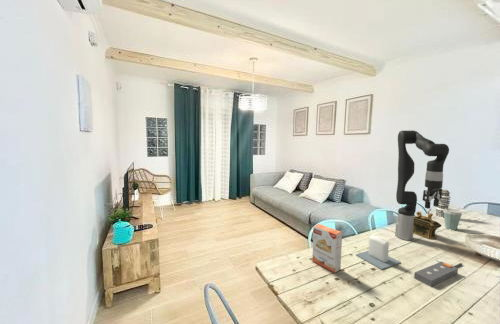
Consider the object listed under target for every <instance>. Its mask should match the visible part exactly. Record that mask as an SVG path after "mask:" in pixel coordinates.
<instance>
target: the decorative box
mask: <svg viewBox="0 0 500 324" xmlns="http://www.w3.org/2000/svg"><path fill="white" fill-rule="evenodd" d="M431 211H432V208H430V209H428V210H427V216H425V215H422V214H423V213H422V212H421V211H417V212H416V215H415V214H414V228H413V234H414V233H415V234H414V235H418V236H419V237H422V236H423V238H425V239H428V240H433V239H437V238H438V237H437V234H436V230H437V229H440V228H441V227H442V224H441V223H439V222H438V221H437V220H432V217H433V215H434V214H433V213H430V212H431Z"/></svg>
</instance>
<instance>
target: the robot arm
mask: <svg viewBox="0 0 500 324" xmlns="http://www.w3.org/2000/svg"><path fill="white" fill-rule="evenodd" d="M413 144H414V145H415V146H416V148H417V149H419V150H420V151H422V152H423V153H424V155H425V156H427V157H435V159H431V160H428V161H427V162H426V171H425V176H424V177H425V179H424V187H425V188H427V189H424V190H423V192H422V201H424V208H425V209H428V210H430V209H431V204H432V203H431V202H432V200H433V207H436V208H437V207H438V206H439V200H440V199H442V190H443V183H444V182H443V181H444V164H445V162H446V160H447V157H448V155H449V152H450V147H449V146H448V145H447V144H446V143H436V142H434V141H433V140H431V139H428V138H426V137H425V136H423V135H422V134H420V133H419V132H418V131H417V130H400V131H399V132H398V134H397V148H398V150H397V151H398V163H397V186H396V187H397V188H396V194H395V195H396V202H397V204H399V205H405V206H403V207H400V208H398V210H397V211H398V212H397V222H396V223H395V235H394V236H395V237H397V238H398V239H401V240H403V241H412V240H413V239H414V233H413V228H414V217H415V216H414V215H415V214H416V210H417V202H418V195H417V193H416V192H414V191H408V190H407V191H406V186H407V183H408V182H409V181H410V180H411V178H413V175H414V173H415V162H414V160H413V157H411V155H410V154H409V152H408V150H407V146H406V145H413Z"/></svg>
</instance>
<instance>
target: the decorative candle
mask: <svg viewBox="0 0 500 324" xmlns="http://www.w3.org/2000/svg"><path fill="white" fill-rule="evenodd" d="M450 193H451V192H450V191H449V190H448V189H442V199H440V200H439V206H438V207H436V208H435V217H436V216H438V217H443V218H444V212H443V210H444V209H446V208H447V209H449V207H450V204H451V203H450V202H451V201H450V200H451V196H450V195H451V194H450Z"/></svg>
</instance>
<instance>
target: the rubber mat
mask: <svg viewBox="0 0 500 324" xmlns="http://www.w3.org/2000/svg"><path fill="white" fill-rule="evenodd" d="M355 256H357V257H358V258H359V259H361V260H364V261H366V262H367V263H368V264H370V265H372V266H374V267H376V268H378V269H379V270H382V271H383V270H386V269H387V268H390V267H394V266H396V265H399V264H401V263H402V262H401V261H399V260H398V259H396V258H393V257H391V256H390V255H388V261H387V262H383V261H380V260H378V259H376V258H374V257H372V256H370V255H369V250H365V251H362V252H359V253H356V254H355Z"/></svg>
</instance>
